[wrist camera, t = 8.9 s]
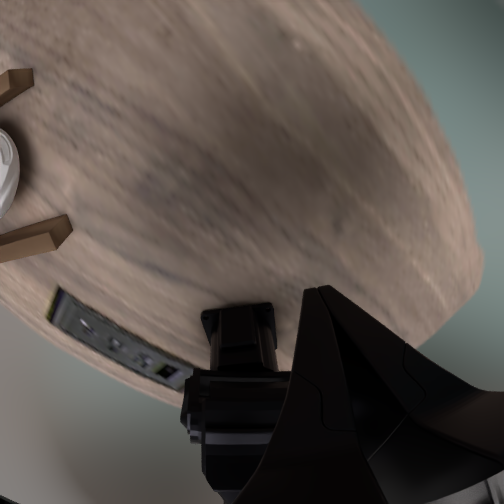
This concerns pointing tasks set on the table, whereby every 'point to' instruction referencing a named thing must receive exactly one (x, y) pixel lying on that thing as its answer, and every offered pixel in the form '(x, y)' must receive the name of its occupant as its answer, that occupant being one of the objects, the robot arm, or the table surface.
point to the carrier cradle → (42, 233)
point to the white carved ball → (8, 171)
